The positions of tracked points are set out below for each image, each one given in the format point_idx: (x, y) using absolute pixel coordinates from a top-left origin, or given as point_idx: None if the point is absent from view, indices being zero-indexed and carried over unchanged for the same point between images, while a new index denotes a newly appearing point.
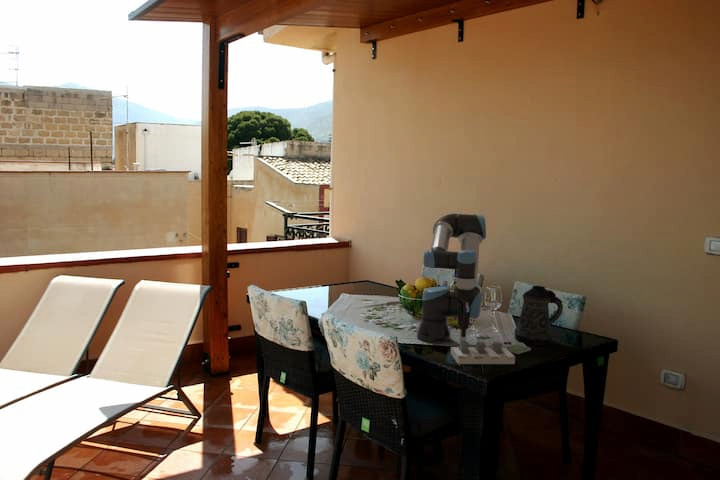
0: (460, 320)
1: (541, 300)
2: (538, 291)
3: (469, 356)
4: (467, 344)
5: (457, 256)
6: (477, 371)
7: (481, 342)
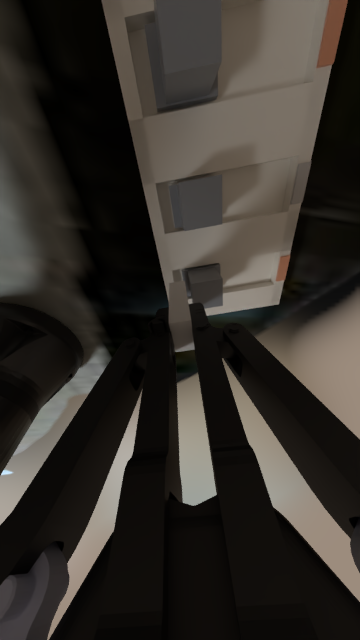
0: (175, 389)
1: None
2: None
3: (286, 268)
4: (221, 280)
5: None
6: (348, 238)
7: (202, 201)
